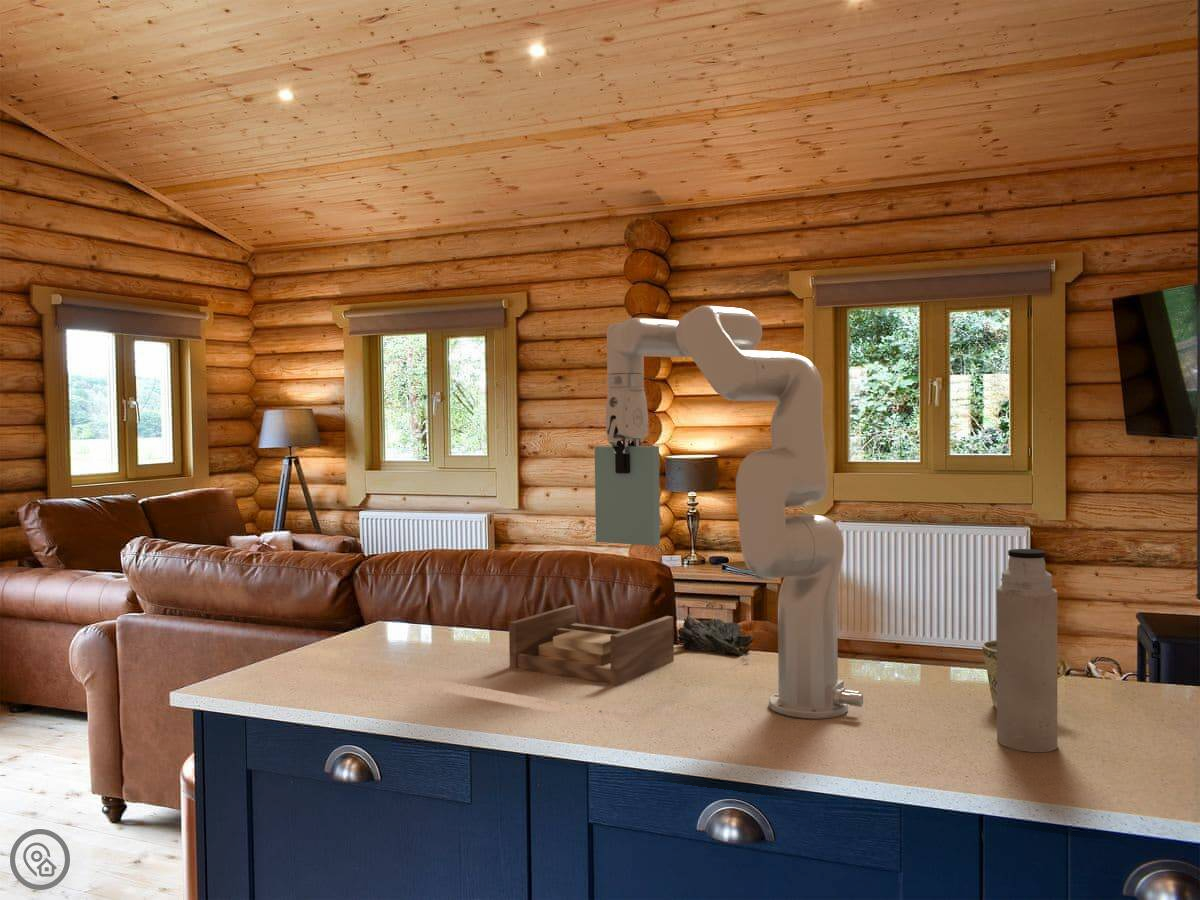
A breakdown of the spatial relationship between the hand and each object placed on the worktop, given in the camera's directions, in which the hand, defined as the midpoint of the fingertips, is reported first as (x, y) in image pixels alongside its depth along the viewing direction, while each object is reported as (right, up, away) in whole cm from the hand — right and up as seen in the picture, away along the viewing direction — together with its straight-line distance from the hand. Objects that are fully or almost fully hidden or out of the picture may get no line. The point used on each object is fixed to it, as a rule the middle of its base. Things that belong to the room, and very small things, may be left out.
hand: (626, 472), depth 195 cm
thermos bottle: (+56, -38, -58) cm, 89 cm away
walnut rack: (-7, -37, -16) cm, 41 cm away
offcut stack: (-8, -36, -18) cm, 41 cm away
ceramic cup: (+63, -38, -42) cm, 85 cm away
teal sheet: (0, -15, 0) cm, 15 cm away
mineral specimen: (+17, -37, -4) cm, 41 cm away
